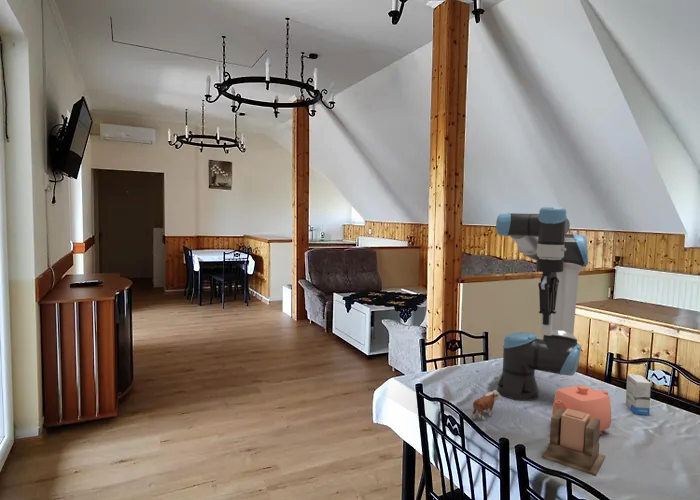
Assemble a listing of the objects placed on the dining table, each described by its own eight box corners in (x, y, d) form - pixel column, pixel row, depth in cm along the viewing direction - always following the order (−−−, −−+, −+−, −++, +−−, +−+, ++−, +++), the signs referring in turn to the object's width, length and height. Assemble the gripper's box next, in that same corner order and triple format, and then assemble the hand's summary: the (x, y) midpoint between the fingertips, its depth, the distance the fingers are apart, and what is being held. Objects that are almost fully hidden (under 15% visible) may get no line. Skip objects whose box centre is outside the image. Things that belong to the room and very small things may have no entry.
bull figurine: (502, 413, 159) (503, 390, 158) (478, 423, 151) (479, 399, 150) (492, 409, 162) (493, 386, 161) (467, 418, 154) (468, 395, 153)
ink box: (649, 415, 158) (652, 383, 157) (634, 414, 159) (636, 381, 158) (639, 405, 167) (641, 374, 166) (624, 404, 168) (626, 373, 167)
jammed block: (559, 455, 130) (561, 413, 129) (565, 447, 135) (567, 407, 134) (582, 463, 126) (584, 420, 125) (587, 454, 131) (590, 413, 130)
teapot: (570, 444, 138) (572, 399, 137) (538, 426, 149) (540, 384, 148) (621, 432, 146) (624, 389, 145) (587, 416, 158) (589, 376, 156)
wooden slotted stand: (541, 457, 130) (543, 418, 129) (553, 441, 139) (555, 405, 139) (595, 475, 121) (598, 434, 120) (605, 457, 131) (607, 418, 130)
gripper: (557, 260, 131) (552, 341, 133) (569, 257, 141) (565, 332, 143) (530, 258, 136) (526, 336, 137) (544, 256, 146) (540, 328, 148)
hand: (546, 334), depth 140 cm, fingers closed
